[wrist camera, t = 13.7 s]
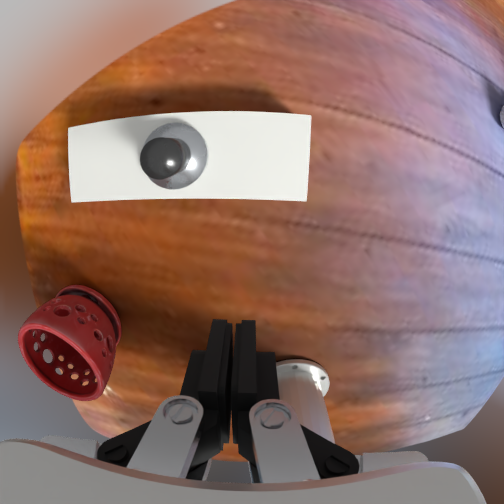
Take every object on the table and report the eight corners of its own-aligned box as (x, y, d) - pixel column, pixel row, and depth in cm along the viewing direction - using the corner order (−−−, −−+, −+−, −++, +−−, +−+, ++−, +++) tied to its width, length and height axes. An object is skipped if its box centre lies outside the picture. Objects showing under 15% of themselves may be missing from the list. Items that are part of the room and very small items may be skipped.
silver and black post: (214, 180, 30) (199, 197, 20) (161, 181, 30) (125, 198, 20) (215, 125, 28) (200, 116, 18) (160, 128, 27) (123, 122, 18)
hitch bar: (296, 191, 31) (306, 201, 26) (94, 192, 30) (71, 202, 25) (300, 120, 28) (311, 115, 23) (92, 128, 27) (68, 127, 22)
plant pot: (77, 347, 39) (46, 396, 28) (48, 278, 34) (2, 320, 23) (143, 350, 39) (118, 410, 28) (116, 273, 34) (72, 324, 23)
